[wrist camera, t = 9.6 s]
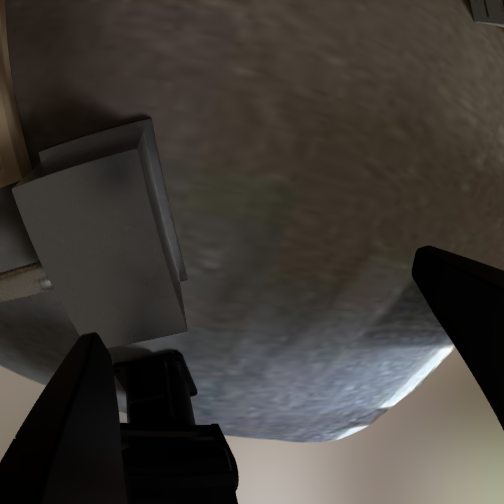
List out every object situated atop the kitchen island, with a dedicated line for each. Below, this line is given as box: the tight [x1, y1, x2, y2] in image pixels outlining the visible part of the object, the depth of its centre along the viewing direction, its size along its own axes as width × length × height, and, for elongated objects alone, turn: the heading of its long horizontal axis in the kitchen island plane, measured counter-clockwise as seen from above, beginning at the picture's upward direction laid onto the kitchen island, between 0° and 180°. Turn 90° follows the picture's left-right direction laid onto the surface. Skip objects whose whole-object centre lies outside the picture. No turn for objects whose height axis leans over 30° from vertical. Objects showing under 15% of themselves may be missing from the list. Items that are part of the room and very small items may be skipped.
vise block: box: [0, 118, 188, 348], centre depth 16 cm, size 11×14×6 cm
